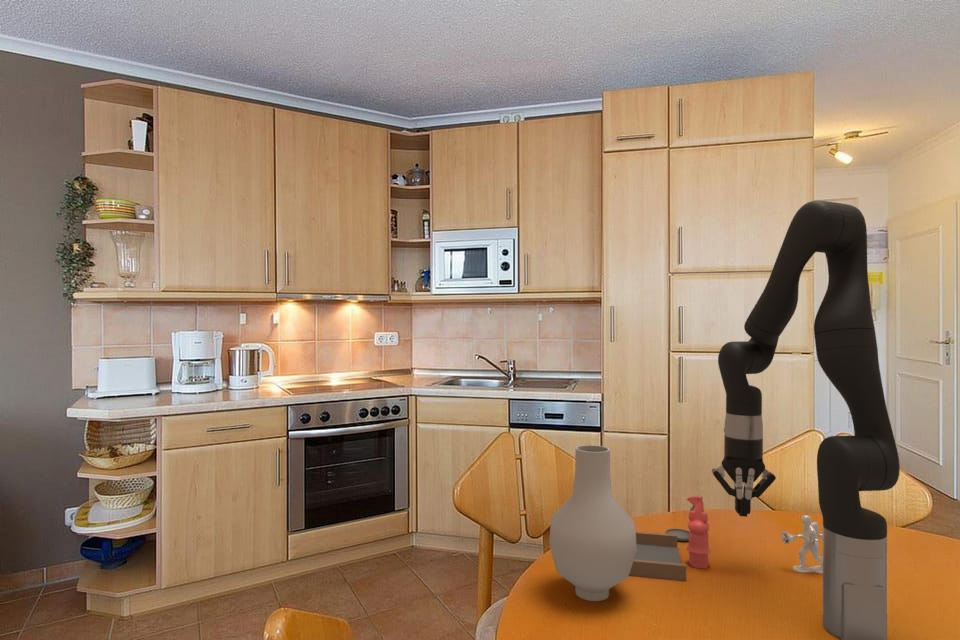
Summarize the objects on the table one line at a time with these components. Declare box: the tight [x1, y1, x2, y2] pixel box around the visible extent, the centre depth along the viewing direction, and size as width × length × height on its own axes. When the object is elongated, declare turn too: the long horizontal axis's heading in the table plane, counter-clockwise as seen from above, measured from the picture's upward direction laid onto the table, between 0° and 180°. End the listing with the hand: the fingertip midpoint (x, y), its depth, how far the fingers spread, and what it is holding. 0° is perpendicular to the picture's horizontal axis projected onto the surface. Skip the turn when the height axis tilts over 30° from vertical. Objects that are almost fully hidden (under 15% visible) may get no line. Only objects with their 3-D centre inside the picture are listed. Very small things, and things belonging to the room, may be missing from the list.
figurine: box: [780, 514, 823, 575], centre depth 124 cm, size 5×9×12 cm, turn 99°
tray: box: [629, 531, 687, 582], centre depth 129 cm, size 18×18×3 cm
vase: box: [548, 444, 637, 602], centre depth 113 cm, size 17×16×28 cm
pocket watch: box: [664, 504, 695, 542], centre depth 142 cm, size 8×8×10 cm
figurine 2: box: [685, 495, 712, 569], centre depth 127 cm, size 5×5×15 cm
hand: (742, 515), depth 125 cm, fingers closed
